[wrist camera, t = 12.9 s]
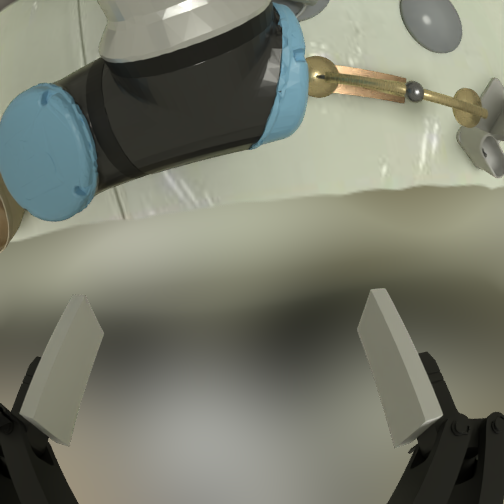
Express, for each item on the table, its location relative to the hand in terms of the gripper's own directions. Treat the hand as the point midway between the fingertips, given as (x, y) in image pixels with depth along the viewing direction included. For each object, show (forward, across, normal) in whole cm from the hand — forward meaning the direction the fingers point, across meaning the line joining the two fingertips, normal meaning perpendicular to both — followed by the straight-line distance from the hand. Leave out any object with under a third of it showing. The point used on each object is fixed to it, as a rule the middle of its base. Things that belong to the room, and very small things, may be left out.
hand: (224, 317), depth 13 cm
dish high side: (+32, +30, +24) cm, 50 cm away
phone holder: (+32, +45, +9) cm, 56 cm away
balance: (+32, +18, +10) cm, 38 cm away
